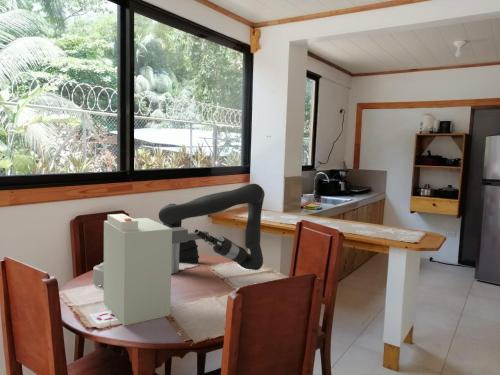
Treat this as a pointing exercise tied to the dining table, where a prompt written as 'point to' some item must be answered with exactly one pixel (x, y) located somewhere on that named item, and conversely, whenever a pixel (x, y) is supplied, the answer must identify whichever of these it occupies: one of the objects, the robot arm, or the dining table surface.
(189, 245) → the black ridged fan wedge
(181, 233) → the block
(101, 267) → the lumpy-topped squat cylinder
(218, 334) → the dining table surface
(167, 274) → the pale grey tall block
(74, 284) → the dining table surface
